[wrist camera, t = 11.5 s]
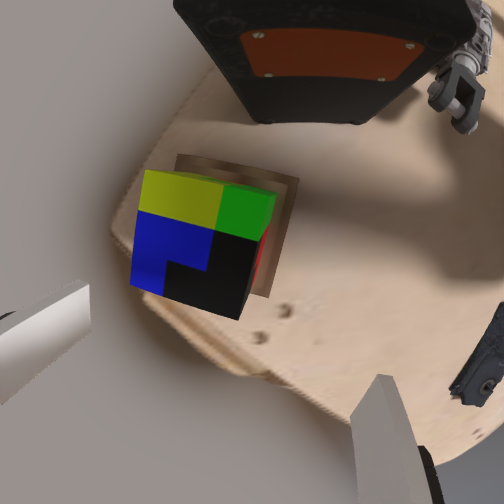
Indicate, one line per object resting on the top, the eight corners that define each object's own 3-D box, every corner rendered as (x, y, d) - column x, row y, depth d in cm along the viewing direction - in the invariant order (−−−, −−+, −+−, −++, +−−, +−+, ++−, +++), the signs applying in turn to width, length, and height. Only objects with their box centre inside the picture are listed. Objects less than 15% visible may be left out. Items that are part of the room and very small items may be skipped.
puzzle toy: (174, 256, 32) (130, 284, 22) (189, 172, 29) (145, 169, 20) (254, 279, 31) (238, 320, 21) (277, 192, 28) (269, 196, 19)
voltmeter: (365, 69, 27) (444, -56, 3) (372, 129, 29) (502, 48, 5) (245, 68, 29) (170, -70, 5) (247, 128, 31) (148, 22, 7)
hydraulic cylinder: (403, 115, 26) (446, 82, 16) (449, 3, 21) (470, -22, 11) (446, 152, 26) (496, 134, 16) (478, 27, 21) (502, 6, 11)
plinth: (298, 179, 32) (299, 178, 28) (271, 285, 35) (268, 298, 31) (190, 156, 33) (176, 153, 29) (172, 258, 37) (158, 267, 33)
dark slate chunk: (533, 310, 30) (545, 319, 25) (482, 397, 36) (490, 409, 31) (499, 294, 31) (514, 304, 26) (441, 395, 37) (449, 410, 32)
